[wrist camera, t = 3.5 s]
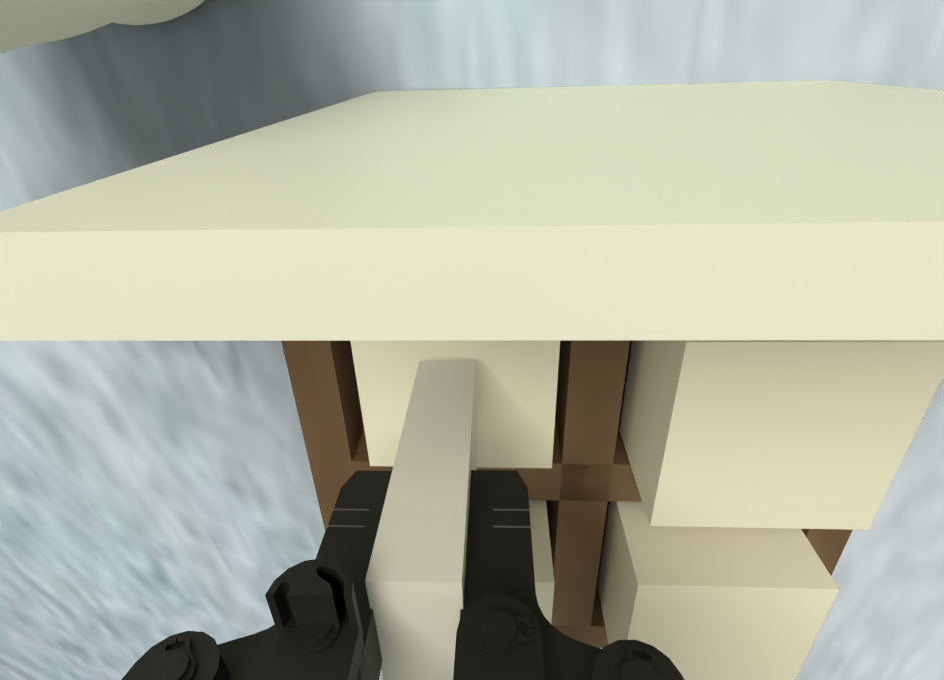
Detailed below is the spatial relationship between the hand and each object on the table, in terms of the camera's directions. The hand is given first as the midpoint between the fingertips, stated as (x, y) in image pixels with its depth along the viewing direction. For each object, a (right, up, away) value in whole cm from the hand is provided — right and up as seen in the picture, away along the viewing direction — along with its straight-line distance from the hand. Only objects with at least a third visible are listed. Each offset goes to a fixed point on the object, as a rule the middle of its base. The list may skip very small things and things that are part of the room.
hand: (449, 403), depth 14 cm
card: (+4, +9, +1) cm, 10 cm away
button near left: (0, +2, +4) cm, 5 cm away
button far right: (+8, -6, +6) cm, 12 cm away
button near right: (+8, +1, +2) cm, 9 cm away
